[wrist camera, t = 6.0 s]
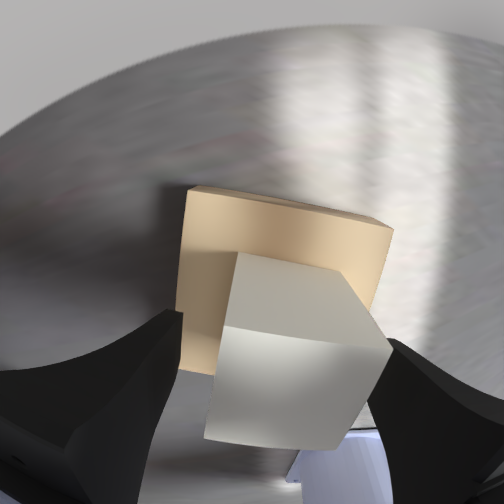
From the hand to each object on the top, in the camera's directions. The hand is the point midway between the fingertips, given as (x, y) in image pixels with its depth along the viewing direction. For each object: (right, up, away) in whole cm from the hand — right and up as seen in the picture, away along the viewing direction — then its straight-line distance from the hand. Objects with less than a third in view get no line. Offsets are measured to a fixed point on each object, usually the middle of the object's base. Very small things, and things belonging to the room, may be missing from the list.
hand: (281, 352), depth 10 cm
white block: (0, +1, +3) cm, 3 cm away
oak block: (0, +2, +6) cm, 6 cm away
